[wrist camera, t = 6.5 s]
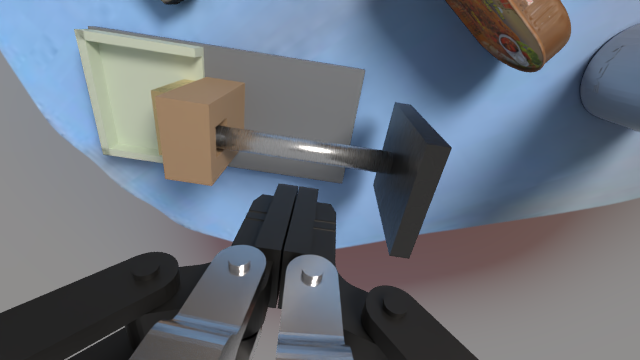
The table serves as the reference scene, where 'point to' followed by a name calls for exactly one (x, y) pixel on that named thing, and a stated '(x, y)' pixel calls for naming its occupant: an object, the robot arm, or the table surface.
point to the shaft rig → (212, 103)
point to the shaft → (370, 167)
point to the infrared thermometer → (171, 1)
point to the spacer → (153, 94)
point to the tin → (517, 29)
